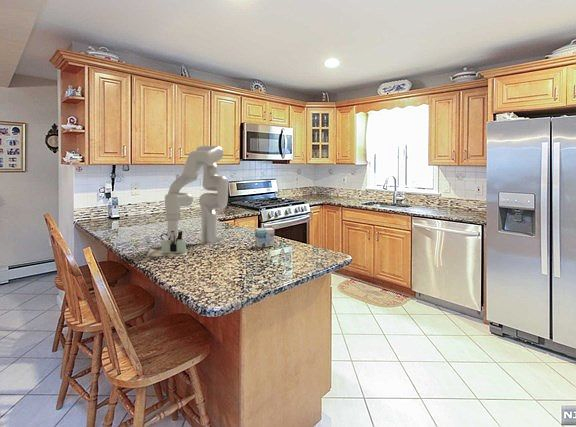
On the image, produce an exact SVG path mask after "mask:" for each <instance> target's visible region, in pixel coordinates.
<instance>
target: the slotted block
mask: <svg viewBox="0 0 576 427" xmlns="http://www.w3.org/2000/svg"><path fill="white" fill-rule="evenodd" d="M186 241H187V239H184V238H182V240H177V241H176V246H177V251H176V252H170V240H168V239H164V240H162V241H161V243H160V244H161V246H160V247H161V250H162V254H164V253H185V252H186V249H187V246H186V245H187V244H186Z"/></svg>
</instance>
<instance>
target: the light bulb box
mask: <svg viewBox="0 0 576 427" xmlns="http://www.w3.org/2000/svg"><path fill="white" fill-rule="evenodd" d="M254 230H255V231H254V236H255V238H254V245H255V246H256V247H257V248H269V246H275V229H274V228H273V227H257V228H254Z"/></svg>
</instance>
